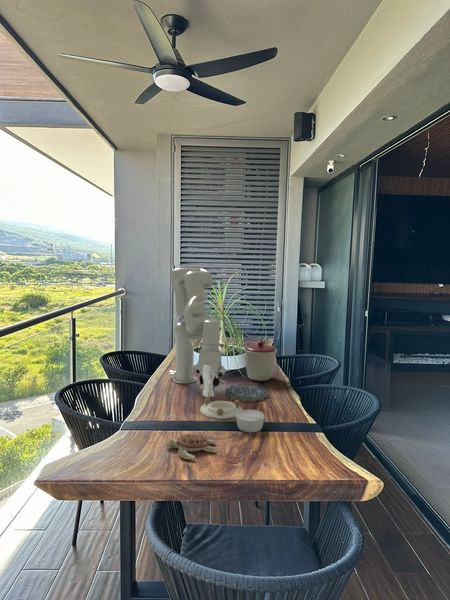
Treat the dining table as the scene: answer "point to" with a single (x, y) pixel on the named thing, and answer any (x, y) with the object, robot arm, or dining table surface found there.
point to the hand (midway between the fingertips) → (209, 384)
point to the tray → (222, 405)
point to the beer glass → (208, 381)
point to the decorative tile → (246, 393)
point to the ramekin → (250, 420)
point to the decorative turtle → (190, 445)
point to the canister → (260, 361)
